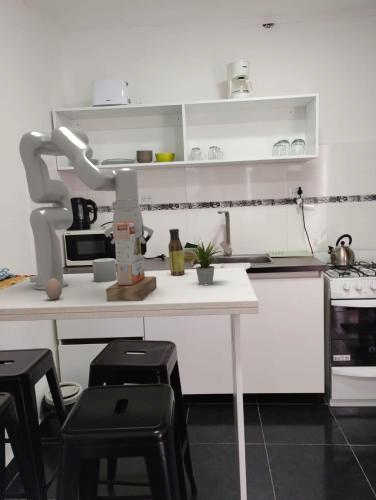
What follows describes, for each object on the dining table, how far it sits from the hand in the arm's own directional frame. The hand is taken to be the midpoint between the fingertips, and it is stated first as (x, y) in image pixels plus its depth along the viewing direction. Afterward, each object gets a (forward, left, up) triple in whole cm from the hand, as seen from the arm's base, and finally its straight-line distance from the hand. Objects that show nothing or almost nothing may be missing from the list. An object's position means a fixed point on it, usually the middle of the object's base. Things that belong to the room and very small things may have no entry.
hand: (129, 254), depth 143 cm
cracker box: (0, 0, -10) cm, 10 cm away
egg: (-26, -7, -14) cm, 30 cm away
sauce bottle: (+9, +36, -14) cm, 40 cm away
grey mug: (-20, +28, -14) cm, 37 cm away
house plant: (+24, +15, -14) cm, 32 cm away
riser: (0, 0, -14) cm, 14 cm away
